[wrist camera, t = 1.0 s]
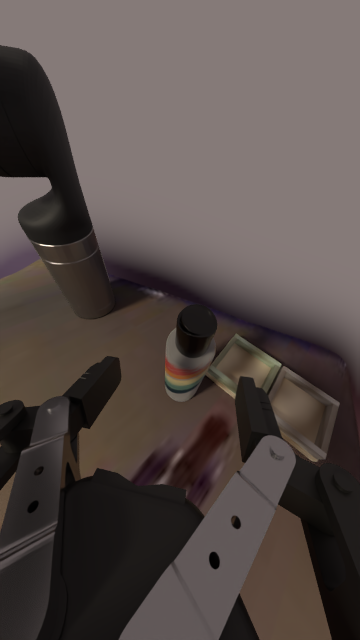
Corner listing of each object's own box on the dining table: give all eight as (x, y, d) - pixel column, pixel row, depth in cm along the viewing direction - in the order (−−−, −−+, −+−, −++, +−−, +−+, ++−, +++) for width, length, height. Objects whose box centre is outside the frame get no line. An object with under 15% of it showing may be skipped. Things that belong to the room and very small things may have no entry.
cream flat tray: (204, 374, 34) (207, 368, 31) (231, 340, 39) (235, 332, 36) (312, 461, 27) (326, 462, 25) (328, 406, 32) (341, 402, 30)
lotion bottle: (168, 367, 34) (172, 290, 18) (197, 372, 34) (228, 299, 18) (161, 399, 31) (161, 339, 15) (195, 405, 31) (230, 350, 15)
